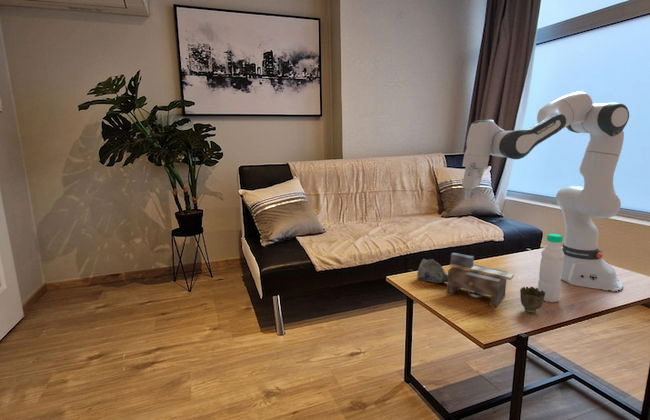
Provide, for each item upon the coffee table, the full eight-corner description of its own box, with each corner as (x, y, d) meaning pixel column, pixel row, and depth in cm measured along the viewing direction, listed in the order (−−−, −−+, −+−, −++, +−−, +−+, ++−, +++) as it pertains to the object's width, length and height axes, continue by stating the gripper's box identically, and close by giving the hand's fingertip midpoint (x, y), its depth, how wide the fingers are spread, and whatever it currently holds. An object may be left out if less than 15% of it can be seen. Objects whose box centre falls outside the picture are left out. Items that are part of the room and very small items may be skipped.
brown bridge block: (504, 295, 133) (507, 271, 131) (495, 308, 123) (497, 282, 121) (458, 284, 144) (459, 261, 142) (446, 294, 135) (447, 270, 133)
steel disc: (484, 295, 135) (484, 291, 134) (480, 299, 131) (480, 296, 130) (471, 291, 138) (471, 288, 137) (466, 296, 134) (467, 292, 134)
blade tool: (449, 266, 137) (450, 254, 136) (453, 263, 140) (454, 251, 139) (510, 280, 123) (511, 267, 122) (513, 276, 126) (514, 263, 125)
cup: (513, 309, 123) (515, 288, 121) (528, 305, 125) (530, 284, 124) (531, 319, 116) (534, 297, 114) (547, 314, 118) (550, 293, 117)
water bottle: (533, 298, 131) (540, 234, 125) (541, 292, 135) (548, 231, 129) (554, 305, 125) (562, 238, 120) (561, 299, 129) (570, 235, 124)
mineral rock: (453, 286, 143) (454, 263, 140) (430, 290, 140) (431, 266, 138) (435, 274, 155) (436, 253, 153) (414, 278, 152) (414, 256, 150)
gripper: (480, 164, 120) (473, 203, 123) (487, 163, 138) (480, 197, 141) (461, 162, 124) (454, 200, 126) (470, 161, 141) (464, 195, 144)
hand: (468, 198), depth 134 cm, fingers open, 8 cm apart
